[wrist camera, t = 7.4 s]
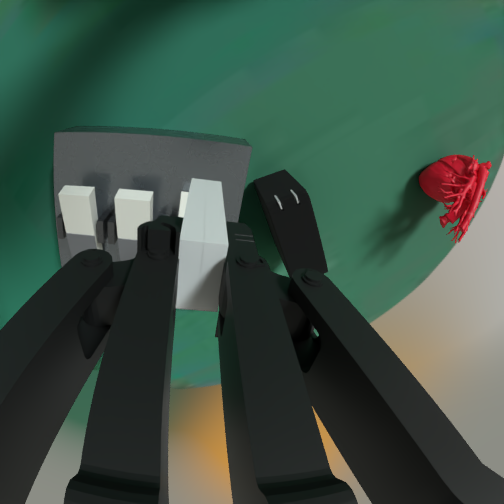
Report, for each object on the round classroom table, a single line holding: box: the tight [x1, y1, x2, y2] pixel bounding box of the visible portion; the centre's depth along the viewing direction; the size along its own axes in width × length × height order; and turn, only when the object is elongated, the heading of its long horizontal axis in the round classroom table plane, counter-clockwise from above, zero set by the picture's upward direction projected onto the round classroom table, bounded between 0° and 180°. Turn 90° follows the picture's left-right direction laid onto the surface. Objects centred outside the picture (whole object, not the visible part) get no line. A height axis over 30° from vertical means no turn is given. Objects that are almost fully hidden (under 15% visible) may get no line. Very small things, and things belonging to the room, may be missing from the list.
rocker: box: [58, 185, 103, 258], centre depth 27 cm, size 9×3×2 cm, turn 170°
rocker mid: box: [114, 189, 153, 261], centre depth 28 cm, size 9×3×2 cm, turn 170°
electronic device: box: [254, 170, 328, 278], centre depth 34 cm, size 4×10×10 cm, turn 19°
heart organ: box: [419, 155, 491, 243], centre depth 33 cm, size 10×12×12 cm
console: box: [54, 126, 252, 267], centre depth 31 cm, size 19×21×9 cm
